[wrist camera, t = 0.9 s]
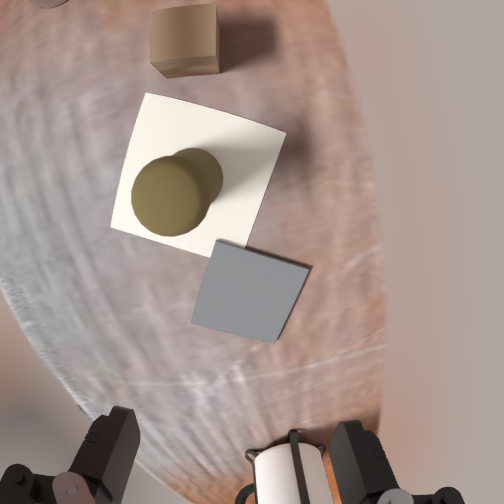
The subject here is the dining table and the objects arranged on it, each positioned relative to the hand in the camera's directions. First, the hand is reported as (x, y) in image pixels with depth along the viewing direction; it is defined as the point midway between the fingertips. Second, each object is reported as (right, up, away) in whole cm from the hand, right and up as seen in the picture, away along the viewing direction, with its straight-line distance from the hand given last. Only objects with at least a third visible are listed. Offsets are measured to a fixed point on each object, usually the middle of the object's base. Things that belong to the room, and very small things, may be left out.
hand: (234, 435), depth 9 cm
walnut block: (-5, +26, +13) cm, 29 cm away
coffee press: (+6, -30, +35) cm, 46 cm away
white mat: (-5, +14, +17) cm, 22 cm away
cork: (-5, +14, +17) cm, 23 cm away
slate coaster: (0, +2, +22) cm, 22 cm away
